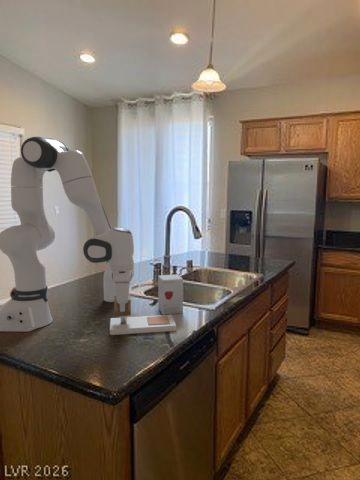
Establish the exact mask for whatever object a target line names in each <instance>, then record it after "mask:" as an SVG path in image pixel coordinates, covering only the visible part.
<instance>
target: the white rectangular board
mask: <svg viewBox="0 0 360 480" xmlns="http://www.w3.org/2000/svg"><path fill="white" fill-rule="evenodd" d="M157 316H167V317H168V319H169V322H170V324H160V325H148V321H147V317H157ZM175 331H177V325H176V322H175V320H174V317H173V314H166V315H163V314H161V315H160V314H159V315H157V314H156V315H146V316H145V315H144V316H143V315H142V316H127V323H126V324H121V322H120V317H110V321H109V335H110V336H115V335H129V334H130V335H132V334H144V333H145V334H146V333H148V334H149V333H158V332H159V333H161V332H175Z"/></svg>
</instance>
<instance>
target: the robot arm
mask: <svg viewBox="0 0 360 480" xmlns="http://www.w3.org/2000/svg"><path fill="white" fill-rule="evenodd" d="M53 171H56V172H57V173H58V175H59V177H60V181H61V184H62V186H63V187H62V188H63V191H64V194H65V195H66V197H67V200H69V202H70V203H71V204H73V205H74V206H76V207H78V208H80V209H82V210H83V211H84V213H86V215H88V218H89V220H90V223H91V225H92V228H93V230H94V233H95V236H94V237H93V236H92V237H91V238H89V239H88V240H86V241H85V242H84V245H83V246H82V247H83V248H82V250H83V251H82V253H83V255H84V257H85V259H86V260H87V261H89V262H91V263H94V264H99V263H106V261H108V262H109V263H110V277H111V278H112V279H113V282H114V284H115V291H116V299H117V303H119V304H120V311H121V312H124V311H125V303H127V302H128V296H129V295H130V283H131V281H132V280H133V277H134V276H135V261H134V257H133V256H134V253H135V250H134V246H135V245H134V235H133V233H132V232H131V231H130V230H129V229H127V228H124V227H119V226H118V227H117V226H115V227H111V225H110V223H109V219H108V217H107V214H106V211H105V209H104V206H103V204H102V202H101V199H100V197H99V194H98V190H97V186H96V183H95V180H94V177H93V174H92V171H91V169H90V166H89V163H88V161H87V159H86V157H85V156H84V154H83V152H82V151H79V150H75V149H69V146H67V144H65V143H64V142H62V141H60V140H56V139H54V138H50V137H41V136H31V137H28V138H26V139H25V140H24V141H23V143H22V144H21V146H20V157H17V158H15V159H14V161H13V163H12V167H11V175H10V176H11V177H10V196H11V198H10V201H11V203H10V204H11V205H10V206H11V208H12V210H13V211H14V212H15V213H17V216H18V218H19V221H20V224H17V225H12V226H9V227H8V228H5V229H4V230H2V231H1V232H0V251H1V252H2V253H3V254H5V256H7V257H8V259H9V261H10V263H11V265H12V268H13V273H14V282H15V283H14V284H15V285H14V287H12V289H11V290H10V293H9V297H10V299H9V300H8V301H7V302H5V303H4V304H3V305H2V306H1V307H0V332H25V333H26V332H32V331H33V330H36V329H41V328H42V327H45V326H48V325H50V324H51V323H53V320H54V319H53V317H52V315H51V311H50V306H49V289H48V285H47V275H46V273H47V272H46V266H45V265H44V264H43V263H41V262H40V260H39V257H38V254H37V252H38V251H42V250H44V249H46V248H48V247H49V246H51V244H53V243H54V241H55V238H56V234H55V230H54V229H53V227H52V225H50V223H49V221H48V219H47V216H46V213H45V208H44V207H45V206H44V185H43V184H44V181H43V180H44V179H43V178H44V175H45V173H46V172H53Z"/></svg>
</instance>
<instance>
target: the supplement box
mask: <svg viewBox="0 0 360 480" xmlns="http://www.w3.org/2000/svg"><path fill="white" fill-rule="evenodd" d="M157 276H158V279H157V281H158V283H157V284H158V285H157V289H158V294H157V295H158V297H157V300H158V305H157V307H158V310H159V311H160V313H161V315H174V314H183V313H184V278H183V277H181V276H180V275H179V274H162V275H157Z"/></svg>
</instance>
